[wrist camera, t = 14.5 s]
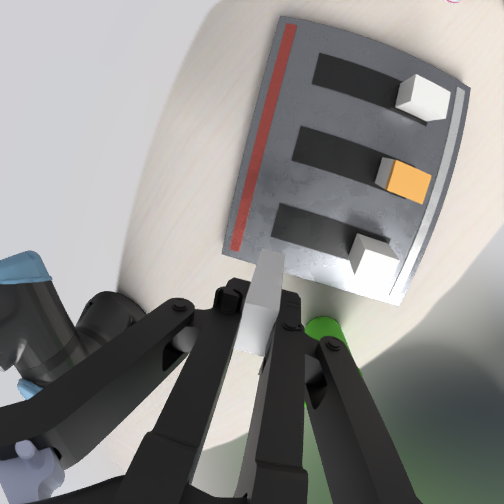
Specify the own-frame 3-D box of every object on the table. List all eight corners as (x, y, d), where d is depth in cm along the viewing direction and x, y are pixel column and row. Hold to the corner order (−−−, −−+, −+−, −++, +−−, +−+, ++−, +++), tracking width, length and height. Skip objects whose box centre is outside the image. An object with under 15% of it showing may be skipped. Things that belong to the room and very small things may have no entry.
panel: (225, 248, 37) (220, 254, 35) (282, 22, 25) (280, 14, 23) (395, 298, 35) (399, 306, 33) (463, 90, 23) (471, 87, 21)
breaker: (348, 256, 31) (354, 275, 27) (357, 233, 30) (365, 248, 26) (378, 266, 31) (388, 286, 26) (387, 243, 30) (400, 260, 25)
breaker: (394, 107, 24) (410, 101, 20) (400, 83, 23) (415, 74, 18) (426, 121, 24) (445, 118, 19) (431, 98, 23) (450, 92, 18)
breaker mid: (374, 182, 28) (387, 190, 23) (382, 157, 27) (396, 159, 22) (405, 195, 27) (422, 204, 23) (413, 170, 26) (431, 175, 22)
